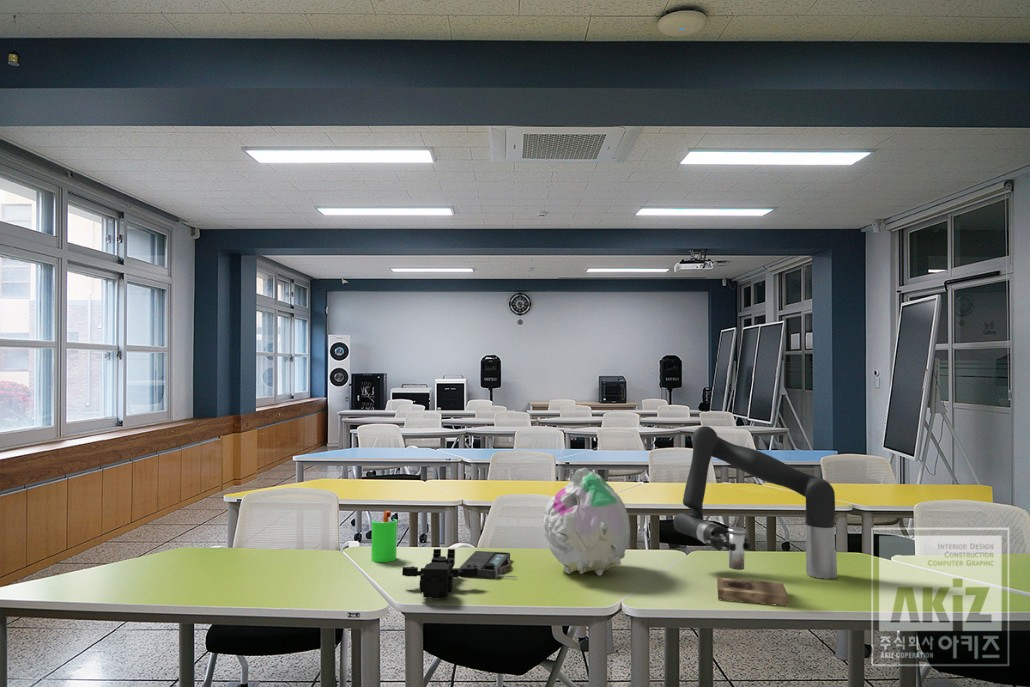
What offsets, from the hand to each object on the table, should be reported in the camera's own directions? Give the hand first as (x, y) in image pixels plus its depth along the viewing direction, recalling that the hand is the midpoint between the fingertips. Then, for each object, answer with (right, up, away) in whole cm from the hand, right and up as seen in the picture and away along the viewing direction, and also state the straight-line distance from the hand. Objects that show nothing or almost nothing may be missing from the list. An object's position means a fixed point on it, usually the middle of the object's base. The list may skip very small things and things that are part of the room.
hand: (741, 547), depth 206 cm
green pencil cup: (-119, -17, +39) cm, 126 cm away
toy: (-95, -15, +4) cm, 96 cm away
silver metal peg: (-1, -7, +2) cm, 7 cm away
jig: (+3, -15, 0) cm, 16 cm away
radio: (-78, -17, +29) cm, 85 cm away
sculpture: (-46, -17, +27) cm, 55 cm away
